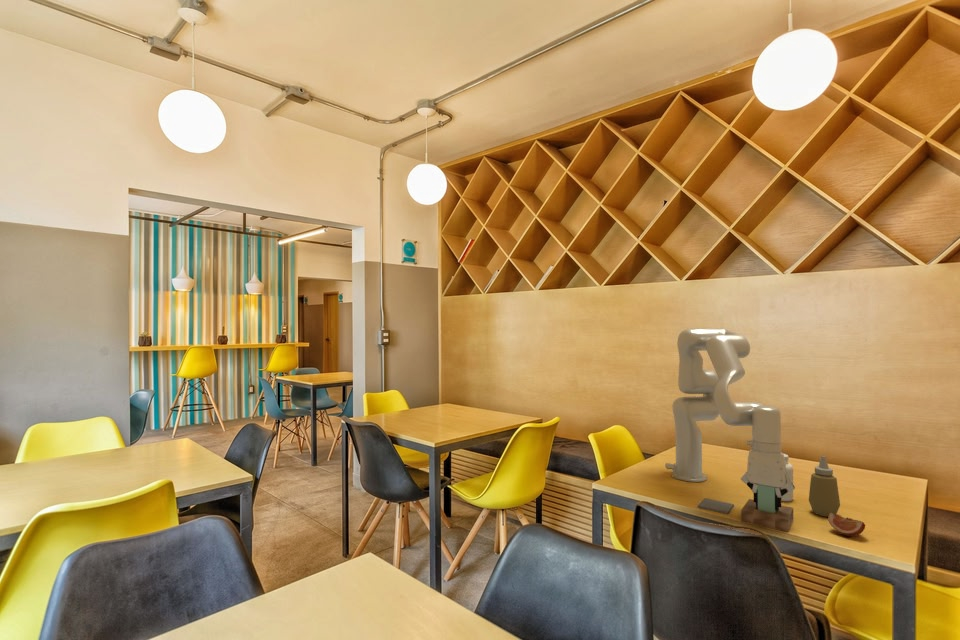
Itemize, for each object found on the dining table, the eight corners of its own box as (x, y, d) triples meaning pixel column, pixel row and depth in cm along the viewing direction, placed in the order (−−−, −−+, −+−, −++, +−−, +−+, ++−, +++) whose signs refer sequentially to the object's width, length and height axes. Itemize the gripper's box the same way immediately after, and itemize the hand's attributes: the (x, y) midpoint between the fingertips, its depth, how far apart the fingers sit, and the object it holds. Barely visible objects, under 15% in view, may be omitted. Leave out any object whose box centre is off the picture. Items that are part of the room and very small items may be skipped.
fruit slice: (824, 531, 137) (823, 513, 137) (836, 526, 140) (835, 509, 140) (858, 542, 129) (857, 524, 129) (870, 537, 132) (869, 519, 133)
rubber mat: (697, 507, 155) (697, 505, 155) (704, 499, 162) (704, 498, 162) (727, 514, 149) (727, 512, 149) (734, 506, 156) (734, 504, 156)
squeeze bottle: (841, 521, 144) (840, 461, 144) (809, 515, 148) (808, 457, 148) (838, 512, 150) (837, 455, 151) (808, 507, 155) (807, 452, 155)
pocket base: (741, 521, 144) (741, 509, 144) (749, 509, 153) (749, 498, 153) (788, 532, 136) (788, 519, 136) (793, 519, 145) (793, 507, 145)
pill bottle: (784, 503, 158) (784, 458, 158) (761, 496, 165) (760, 453, 166) (798, 499, 162) (797, 455, 162) (774, 492, 169) (774, 450, 169)
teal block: (758, 520, 144) (757, 481, 144) (760, 516, 147) (760, 477, 148) (774, 524, 141) (774, 483, 141) (777, 519, 145) (776, 480, 145)
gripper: (733, 445, 147) (733, 504, 147) (798, 454, 136) (799, 517, 136) (738, 440, 153) (739, 497, 153) (801, 449, 142) (802, 510, 142)
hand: (767, 506), depth 144 cm, fingers closed on teal block, 4 cm apart
